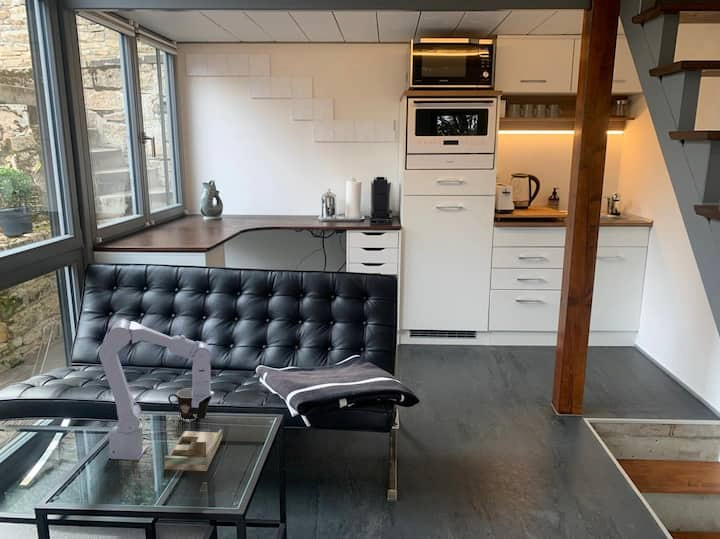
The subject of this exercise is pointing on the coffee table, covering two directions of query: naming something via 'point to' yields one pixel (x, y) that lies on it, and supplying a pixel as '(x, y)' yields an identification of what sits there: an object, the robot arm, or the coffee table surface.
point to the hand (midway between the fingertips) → (201, 417)
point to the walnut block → (197, 449)
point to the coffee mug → (184, 403)
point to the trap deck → (180, 451)
